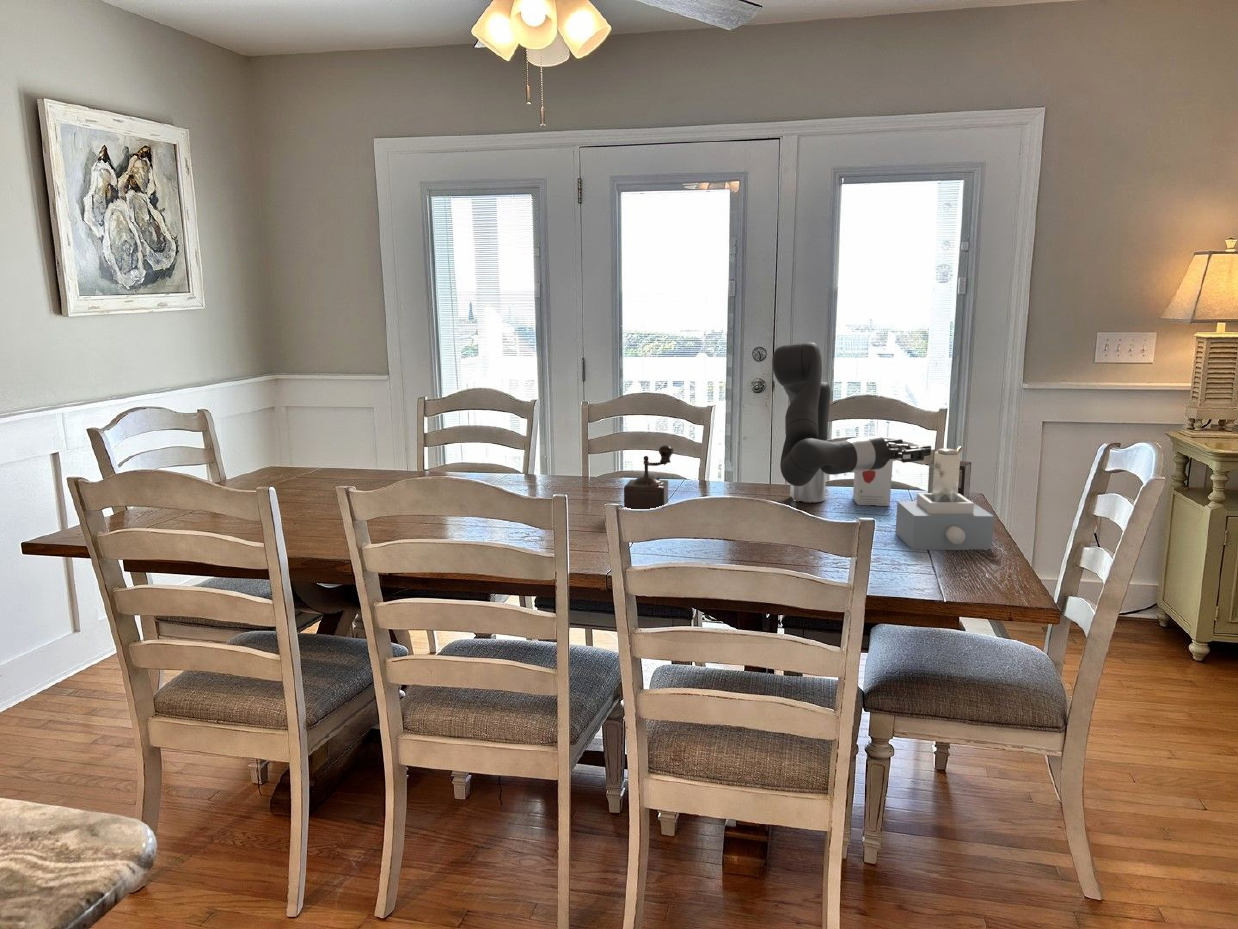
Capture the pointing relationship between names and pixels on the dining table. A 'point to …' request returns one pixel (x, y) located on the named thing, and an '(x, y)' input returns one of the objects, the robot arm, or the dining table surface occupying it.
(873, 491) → the supplement box
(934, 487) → the spout can
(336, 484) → the dining table surface
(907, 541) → the box
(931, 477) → the coffee box
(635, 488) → the manual coffee grinder
